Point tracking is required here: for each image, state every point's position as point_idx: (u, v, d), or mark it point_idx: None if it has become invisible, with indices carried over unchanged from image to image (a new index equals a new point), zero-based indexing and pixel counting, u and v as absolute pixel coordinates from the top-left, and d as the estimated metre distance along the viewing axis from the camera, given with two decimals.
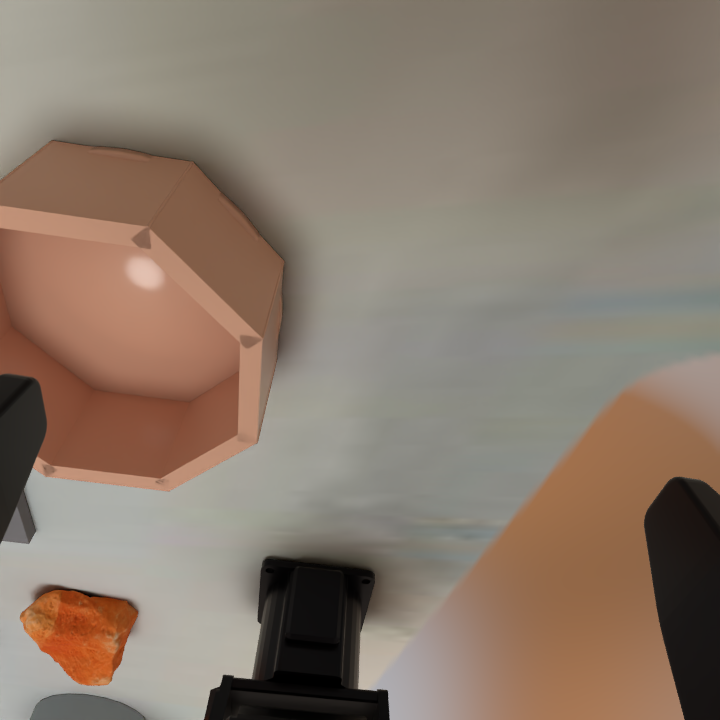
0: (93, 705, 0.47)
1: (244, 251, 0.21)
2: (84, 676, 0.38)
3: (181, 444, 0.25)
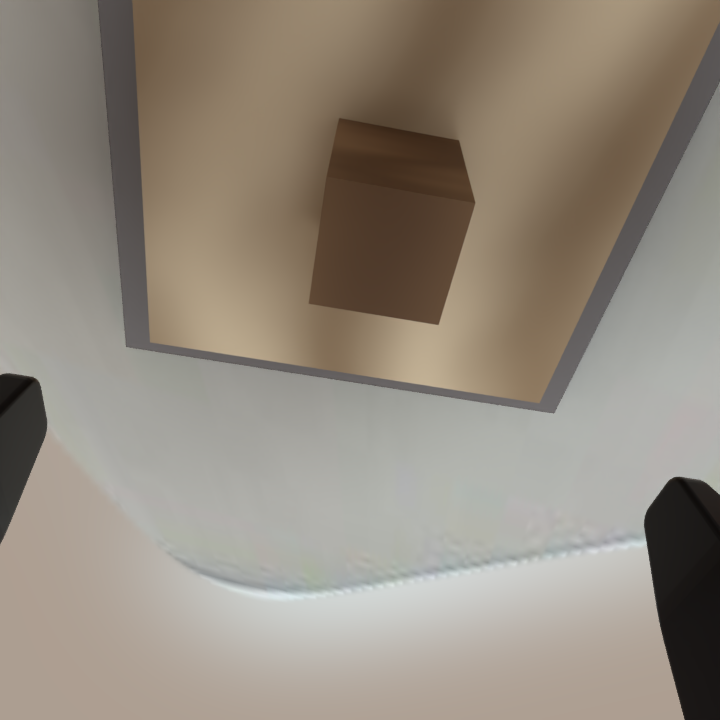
0: None
1: None
2: None
3: None
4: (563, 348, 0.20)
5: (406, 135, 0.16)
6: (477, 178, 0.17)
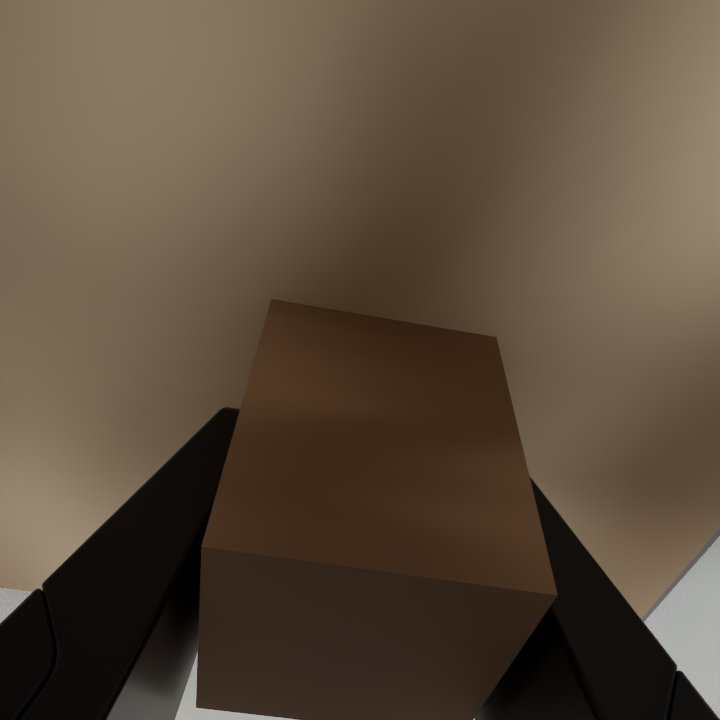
0: None
1: None
2: None
3: None
4: (647, 607, 0.13)
5: (398, 337, 0.08)
6: (525, 393, 0.09)
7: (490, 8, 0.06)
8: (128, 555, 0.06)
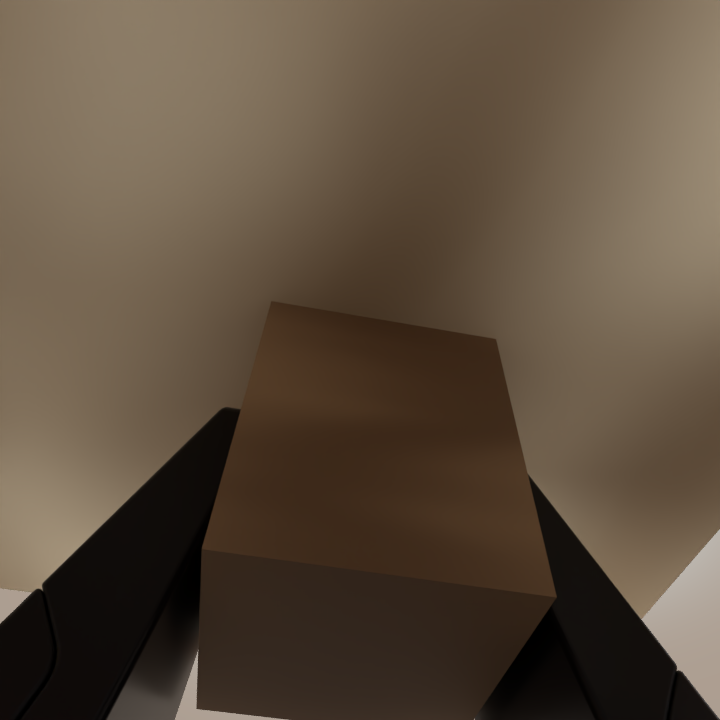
0: None
1: None
2: None
3: None
4: (647, 608, 0.13)
5: (398, 339, 0.08)
6: (525, 394, 0.09)
7: (489, 12, 0.06)
8: (128, 555, 0.06)
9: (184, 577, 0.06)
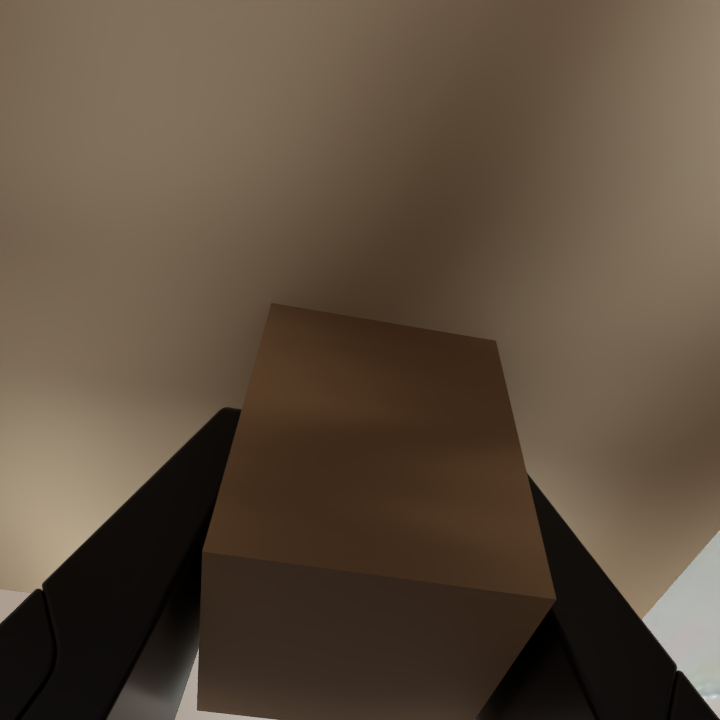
0: None
1: None
2: None
3: None
4: (647, 609, 0.13)
5: (398, 341, 0.08)
6: (524, 396, 0.09)
7: (489, 15, 0.06)
8: (128, 555, 0.06)
9: (184, 577, 0.06)
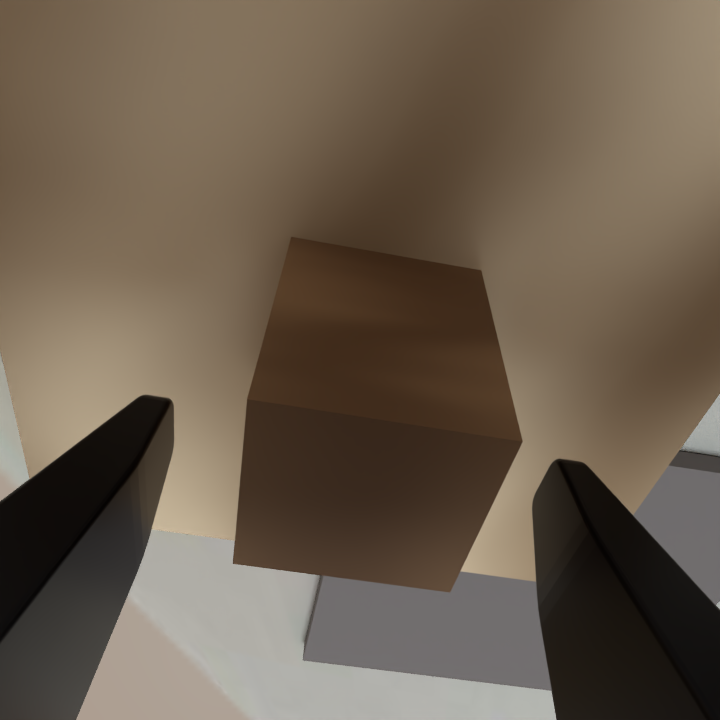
0: None
1: None
2: None
3: None
4: None
5: (398, 267, 0.10)
6: (507, 322, 0.11)
7: None
8: (10, 539, 0.06)
9: (69, 561, 0.06)
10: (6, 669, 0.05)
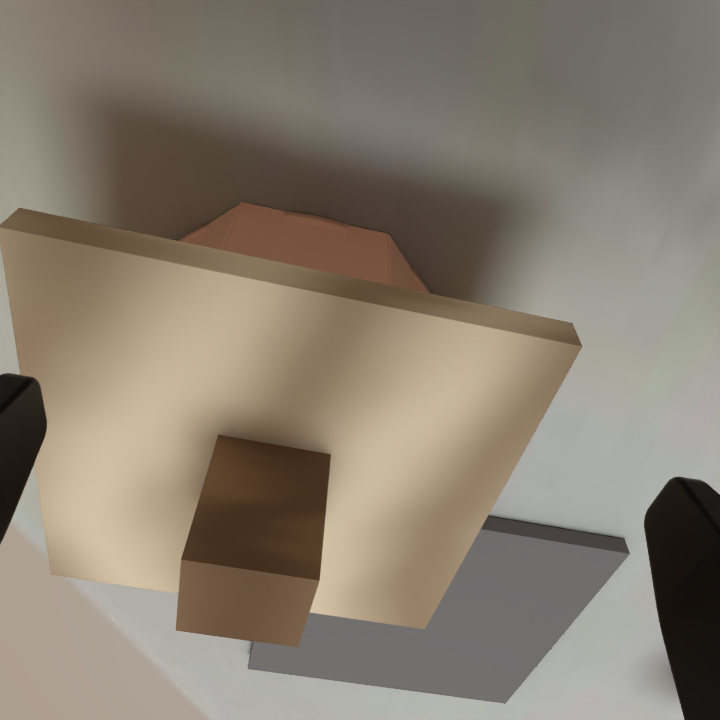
0: None
1: None
2: None
3: None
4: (442, 593, 0.22)
5: (279, 456, 0.17)
6: (350, 479, 0.18)
7: (308, 336, 0.15)
8: None
9: None
10: None
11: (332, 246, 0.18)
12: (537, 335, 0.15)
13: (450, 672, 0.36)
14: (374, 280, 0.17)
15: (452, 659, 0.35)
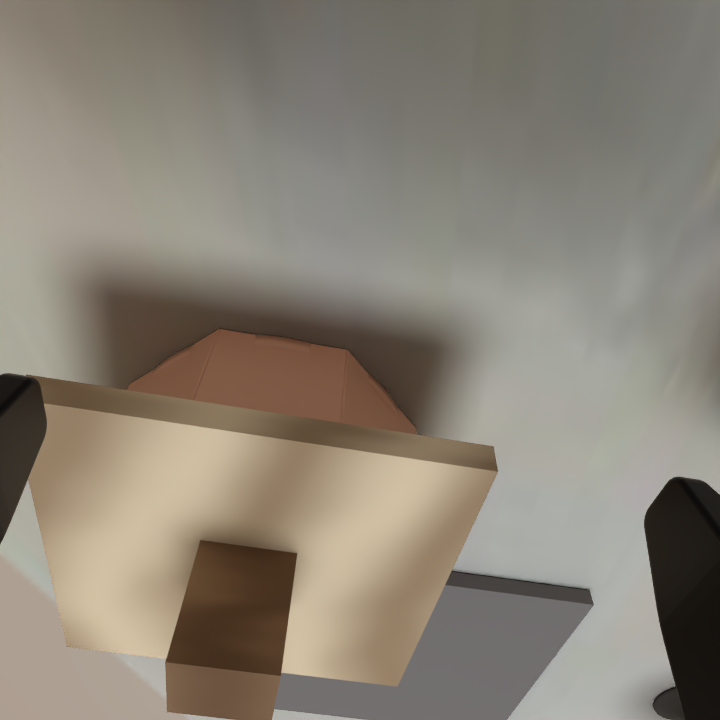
0: None
1: (172, 380, 0.22)
2: None
3: None
4: (409, 658, 0.24)
5: (252, 558, 0.20)
6: (316, 571, 0.21)
7: (267, 468, 0.18)
8: None
9: None
10: None
11: (295, 370, 0.21)
12: (459, 463, 0.18)
13: (440, 708, 0.39)
14: (329, 404, 0.20)
15: (441, 696, 0.38)
